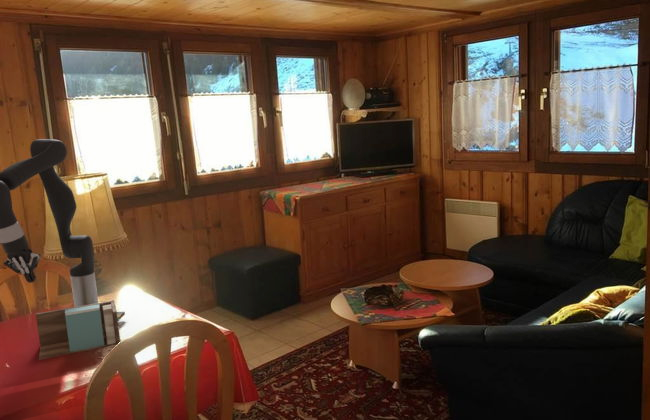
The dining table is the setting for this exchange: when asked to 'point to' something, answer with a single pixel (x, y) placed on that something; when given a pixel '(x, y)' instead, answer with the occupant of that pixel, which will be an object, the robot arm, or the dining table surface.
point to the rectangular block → (84, 327)
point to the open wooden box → (56, 333)
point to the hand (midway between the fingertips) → (32, 281)
